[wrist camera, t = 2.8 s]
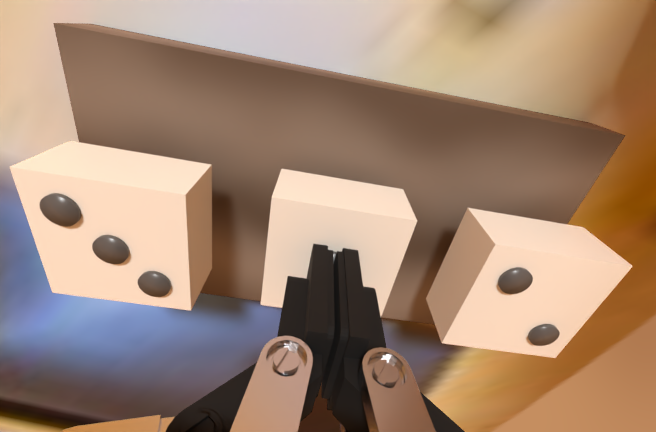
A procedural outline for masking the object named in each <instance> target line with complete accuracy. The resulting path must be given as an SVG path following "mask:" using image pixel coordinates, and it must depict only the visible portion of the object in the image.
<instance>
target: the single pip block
mask: <svg viewBox="0 0 656 432" xmlns="http://www.w3.org/2000/svg"><path fill="white" fill-rule="evenodd" d="M416 223H417V219H416V217H415V215H414V212H413V210H412V208H411V206H410V203H409V201H408V199H407V197H406V194H405V192H404V190H403V189H399V188H393V187H387V186H381V185H375V184H370V183H364V182H358V181H352V180H346V179H340V178H334V177H329V176H323V175H317V174H311V173H305V172H299V171H293V170H287V169H281V172H280V175H279V178H278V180H277V183H276V186H275V189H274V192H273V195H272V199H271V208H270V218H269V228H268V237H267V247H266V257H265V266H264V276H263V286H262V295H261V305H265V306H273V307H280V308H282V307H283V301H284V295H285V289H286V283H287V277H288V276H292V277H300V278H307V273H308V268H309V263H310V257H311V252H312V247H313V244H320V245H327V246H328V250H333V265H334V261H335V256H336V253H337V251H341V252H342V249H343V248H347V249H353V250H358V253H359V260H360V267H361V274H362V282H363V286H364V287H371V288H374V289H375V290H376V295H377V300H378V305H379V311H380V316H382V313H383V311H384V308H385V305H386V303H387V300H388V297H389V295H390V292H391V289H392V287H393V284H394V281H395V279H396V276H397V273H398V271H399V268H400V265H401V263H402V260H403V258H404V255H405V252H406V250H407V247H408V244H409V242H410V239H411V236H412V234H413V231H414V228H415V226H416Z"/></svg>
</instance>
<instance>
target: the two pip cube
mask: <svg viewBox="0 0 656 432" xmlns="http://www.w3.org/2000/svg"><path fill="white" fill-rule="evenodd" d="M632 267H633V266H632V265H631V264H629V263H628V262H627V261H626V260H624V259H623V258H622V257H620V256H619V255H618V254H617V253H615V252H614V251H613V250H612V249H610V248H609V247H608V246H606V245H605V244H604V243H603V242H601V241H600V240H599V239H598V238H596V237H595V236H594V235H593V234H591V233H590V232H589V231H587V230H586V229H585V228H584V227H579V226H573V225H567V224H561V223H556V222H550V221H544V220H538V219H532V218H526V217H520V216H514V215H508V214H502V213H496V212H490V211H484V210H478V209H472V208H467V210H466V212H465V214H464V217H463V219H462V221H461V223H460V225H459V227H458V230H457V232H456V234H455V236H454V238H453V241H452V243H451V245H450V247H449V249H448V251H447V254H446V256H445V258H444V260H443V262H442V265H441V267H440V269H439V271H438V273H437V276H436V278H435V280H434V282H433V284H432V286H431V289H430V291H429V293H428V295H427V297H426V300H427V303H428V306H429V309H430V311H431V314H432V317H433V320H434V323H435V326H436V329H437V331H438V334H439V337H440V340H441V343H444V344H452V345H459V346H467V347H475V348H482V349H490V350H498V351H506V352H513V353H521V354H529V355H536V356H544V357H552V358H556V357H557V355H558V354H559V353H560V352H561V351H562V349H563V348H564V347H565V346H566V345H567V344H568V342H569V341H570V340H571V339H572V338H573V336H574V335H575V334H576V333H577V332H578V330H579V329H580V328H581V327H582V326H583V325H584V323H585V322H586V321H587V320H588V319H589V317H590V316H591V315H592V314H593V313H594V312H595V310H596V309H597V308H598V307H599V306H600V304H601V303H602V302H603V301H604V300H605V299H606V297H607V296H608V295H609V294H610V293H611V291H612V290H613V289H614V288H615V287H616V286H617V284H618V283H619V282H620V281H621V280H622V278H623V277H624V276H625V275H626V274H627V272H628V271H629V270H630V269H631V268H632Z"/></svg>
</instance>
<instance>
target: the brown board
mask: <svg viewBox="0 0 656 432" xmlns="http://www.w3.org/2000/svg"><path fill="white" fill-rule="evenodd" d="M54 27H55V32H56V36H57V41H58V46H59V50H60V55H61V60H62V64H63V69H64V74H65V78H66V83H67V87H68V92H69V97H70V101H71V106H72V111H73V115H74V120H75V125H76V129H77V134H78V138H79V142H80V143H86V144H92V145H98V146H104V147H110V148H116V149H122V150H128V151H134V152H140V153H146V154H152V155H158V156H164V157H170V158H175V159H181V160H187V161H193V162H199V163H205V164H211V165H212V269H211V271H210V273H209V275H208V277H207V279H206V281H205V283H204V285H203V287H202V290H201V292H200V293H205V294H212V295H220V296H227V297H235V298H242V299H249V300H257V301H261V295H262V286H263V276H264V266H265V257H266V247H267V237H268V228H269V218H270V208H271V199H272V195H273V192H274V189H275V186H276V183H277V180H278V178H279V175H280V172H281V169H287V170H293V171H299V172H305V173H311V174H317V175H323V176H329V177H334V178H340V179H346V180H352V181H358V182H364V183H370V184H375V185H381V186H387V187H393V188H399V189H403V190H404V192H405V194H406V197H407V199H408V201H409V203H410V206H411V208H412V210H413V212H414V215H415V217H416V219H417V223H416V226H415V228H414V231H413V234H412V236H411V239H410V242H409V244H408V247H407V250H406V252H405V255H404V258H403V260H402V263H401V265H400V268H399V271H398V273H397V276H396V279H395V281H394V284H393V287H392V289H391V292H390V295H389V297H388V300H387V303H386V305H385V308H384V311H383V313H382V316H381V317H383V318H390V319H397V320H405V321H412V322H420V323H427V324H435V323H434V320H433V317H432V314H431V311H430V309H429V306H428V303H427V300H426V297H427V295H428V293H429V291H430V289H431V286H432V284H433V282H434V280H435V278H436V276H437V273H438V271H439V269H440V267H441V265H442V262H443V260H444V258H445V256H446V254H447V251H448V249H449V247H450V245H451V243H452V241H453V238H454V236H455V234H456V232H457V230H458V227H459V225H460V223H461V221H462V219H463V217H464V214H465V212H466V210H467V208H472V209H478V210H484V211H490V212H496V213H502V214H508V215H514V216H520V217H526V218H532V219H538V220H544V221H550V222H556V223H561V224H568V222H569V220H570V219H571V217H572V216H573V214H574V213H575V211H576V210H577V208H578V207H579V205H580V204H581V202H582V201H583V199H584V198H585V196H586V195H587V193H588V192H589V190H590V189H591V187H592V185H593V184H594V182H595V181H596V179H597V178H598V176H599V175H600V173H601V172H602V170H603V169H604V167H605V166H606V164H607V163H608V161H609V160H610V158H611V157H612V155H613V154H614V152H615V150H616V149H617V147H618V146H619V144H620V143H621V141H622V140H623V138H624V137H625V135H622V134H619V133H617V132H614V131H611V130H608V129H606V128H603V127H600V126H598V125H595V124H592V123H588V122H583V121H578V120H573V119H568V118H563V117H558V116H553V115H548V114H543V113H538V112H533V111H528V110H522V109H517V108H512V107H507V106H502V105H497V104H492V103H487V102H482V101H477V100H472V99H467V98H462V97H457V96H452V95H447V94H442V93H437V92H432V91H427V90H422V89H417V88H412V87H407V86H402V85H396V84H391V83H386V82H381V81H376V80H371V79H366V78H361V77H356V76H351V75H346V74H341V73H336V72H331V71H326V70H321V69H316V68H311V67H306V66H301V65H296V64H291V63H286V62H281V61H275V60H270V59H265V58H260V57H255V56H250V55H245V54H240V53H235V52H230V51H225V50H220V49H215V48H210V47H205V46H200V45H195V44H190V43H185V42H180V41H175V40H170V39H165V38H160V37H154V36H149V35H144V34H139V33H134V32H129V31H124V30H119V29H114V28H109V27H104V26H99V25H94V24H71V23H54Z"/></svg>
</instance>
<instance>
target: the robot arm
mask: <svg viewBox="0 0 656 432" xmlns="http://www.w3.org/2000/svg"><path fill="white" fill-rule="evenodd" d="M321 382H322V398H326V399H327V410H333V415H334V416H335V417H336V418H337V420H338V421H339V422H340V432H464V431H463V430H462V429H461V428H460V427H459V426H458V425H457V424H455V423H454V422H453V421H452V420H451V419H450V418H449V417H448V416H447V415H445V414H444V413H443V412H442V411H441V410H440V409H439V408H438V407H436V406H435V405H434V404H433V403H432V402H431V401H430V400H429V399H427V398H426V397H425V396H424V395H423V394H422V393H421V392H420V391H419V388H418V386H417V383H416V381H415V378H414V376H413V373H412V371H411V368H410V366H409V365H408V363H407V361H406V360H405V359H404V358H403V357H402V356H401V355H400V354H398V353H397V352H395V351H393V350H391V349H388V348H386V343H385V338H384V333H383V327H382V322H381V316H380V311H379V305H378V300H377V295H376V290H375V289H374V288H371V287H364V286H363V282H362V274H361V267H360V260H359V253H358V250H353V249H347V248H343V249H342V252H341V251H337V253H336V256H335V261H334V265H333V250H328V246H327V245H320V244H313V247H312V252H311V257H310V263H309V268H308V273H307V278H300V277H292V276H288V277H287V283H286V289H285V295H284V301H283V307H282V313H281V319H280V324H279V330H278V336H277V337H276V338H274V339H272V340H270V341H269V342H268V343H267V344H266V345H265V346H264V348H263V350H262V351H261V354H260V356H259V359H258V362H257V363H255V364H254V365H252V366H251V367H249V368H248V369H246V370H245V371H243V372H242V373H240V374H238V375H237V376H235V377H234V378H232V379H231V380H229V381H228V382H226V383H225V384H223V385H221V386H220V387H218V388H217V389H215V390H214V391H212V392H211V393H209V394H208V395H206V396H204V397H203V398H201V399H200V400H198V401H197V402H195V403H194V404H192V405H190V406H189V407H187V408H186V409H184V410H183V411H182V412H180V413H179V414H178V415H177V416H176V417H169V418H162V419H161V415H156V416H148V417H141V418H134V419H126V420H119V421H111V422H104V423H97V424H89V425H82V426H75V427H72V428H68V429H65V430H62V431H61V432H298V428H299V423H300V422H301V421H302V420H303V419H304V418H305V417H306V416H307V415H309V414H310V413H311V412H312V409H313V405H314V401H315V398H316V397H317V396H318V393H319V389H320V385H321Z"/></svg>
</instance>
